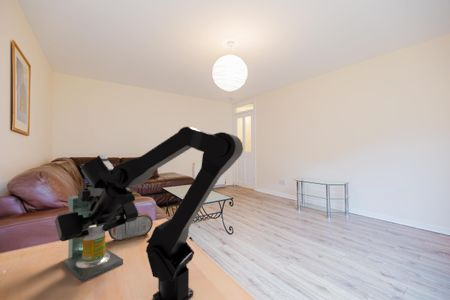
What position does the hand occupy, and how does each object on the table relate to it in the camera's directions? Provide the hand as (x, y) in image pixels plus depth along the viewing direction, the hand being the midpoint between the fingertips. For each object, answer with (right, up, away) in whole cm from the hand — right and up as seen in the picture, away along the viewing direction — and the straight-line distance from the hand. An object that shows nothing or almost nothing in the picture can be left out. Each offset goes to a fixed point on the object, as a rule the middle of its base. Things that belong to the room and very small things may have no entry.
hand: (92, 234), depth 57 cm
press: (-3, -8, +2) cm, 9 cm away
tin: (+3, -9, +17) cm, 19 cm away
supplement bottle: (+1, -7, -1) cm, 7 cm away
